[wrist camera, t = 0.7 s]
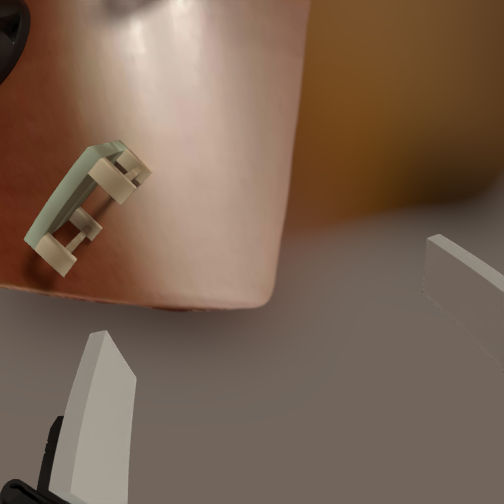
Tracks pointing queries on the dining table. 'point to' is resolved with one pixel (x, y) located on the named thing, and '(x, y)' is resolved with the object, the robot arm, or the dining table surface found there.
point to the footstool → (83, 199)
